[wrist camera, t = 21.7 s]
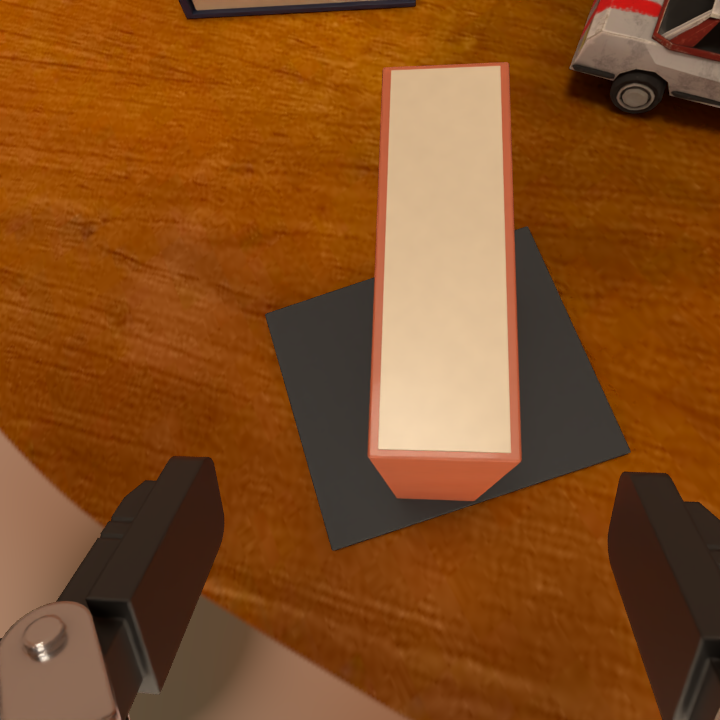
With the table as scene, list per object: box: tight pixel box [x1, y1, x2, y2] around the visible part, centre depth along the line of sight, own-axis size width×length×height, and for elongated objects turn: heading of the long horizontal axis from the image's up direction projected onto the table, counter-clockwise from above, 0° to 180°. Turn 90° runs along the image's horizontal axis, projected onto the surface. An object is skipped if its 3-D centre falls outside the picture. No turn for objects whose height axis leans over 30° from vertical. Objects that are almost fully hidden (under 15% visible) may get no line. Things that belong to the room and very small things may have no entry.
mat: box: [265, 226, 630, 550], centre depth 29 cm, size 14×12×1 cm
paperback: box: [368, 62, 522, 501], centre depth 22 cm, size 4×11×14 cm, turn 178°
